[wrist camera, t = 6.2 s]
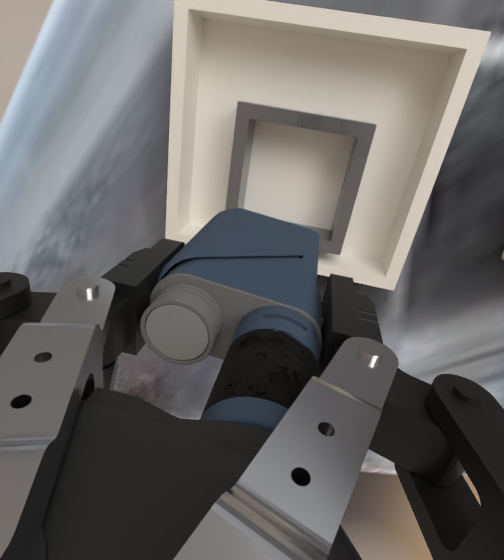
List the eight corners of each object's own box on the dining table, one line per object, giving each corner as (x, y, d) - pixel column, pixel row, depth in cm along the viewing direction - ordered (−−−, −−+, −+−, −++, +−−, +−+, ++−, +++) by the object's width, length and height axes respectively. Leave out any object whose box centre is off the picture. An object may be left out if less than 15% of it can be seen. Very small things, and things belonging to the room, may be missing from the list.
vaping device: (313, 282, 17) (290, 582, 6) (207, 249, 17) (14, 483, 7) (332, 232, 16) (343, 498, 5) (218, 197, 16) (3, 381, 5)
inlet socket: (245, 101, 29) (237, 101, 26) (372, 122, 28) (376, 124, 25) (231, 220, 33) (222, 231, 31) (339, 243, 32) (339, 255, 30)
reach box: (194, 2, 27) (174, -13, 24) (468, 41, 25) (491, 31, 22) (181, 227, 36) (165, 241, 32) (386, 270, 34) (394, 290, 30)
